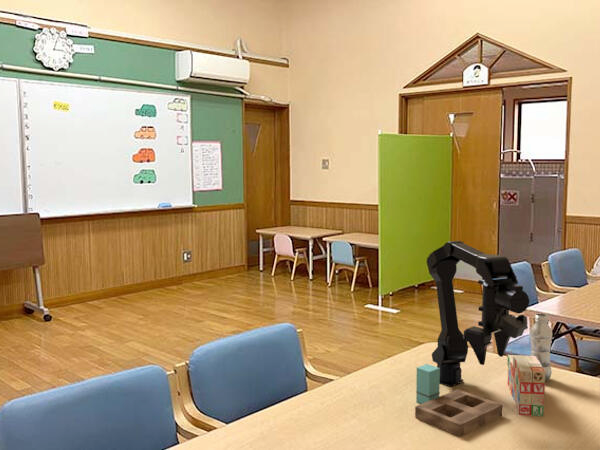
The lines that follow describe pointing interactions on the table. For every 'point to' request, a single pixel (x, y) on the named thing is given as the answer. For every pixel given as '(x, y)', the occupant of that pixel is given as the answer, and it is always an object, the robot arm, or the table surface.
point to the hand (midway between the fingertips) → (491, 360)
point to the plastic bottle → (541, 342)
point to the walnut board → (458, 412)
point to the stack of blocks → (526, 384)
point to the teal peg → (427, 383)
